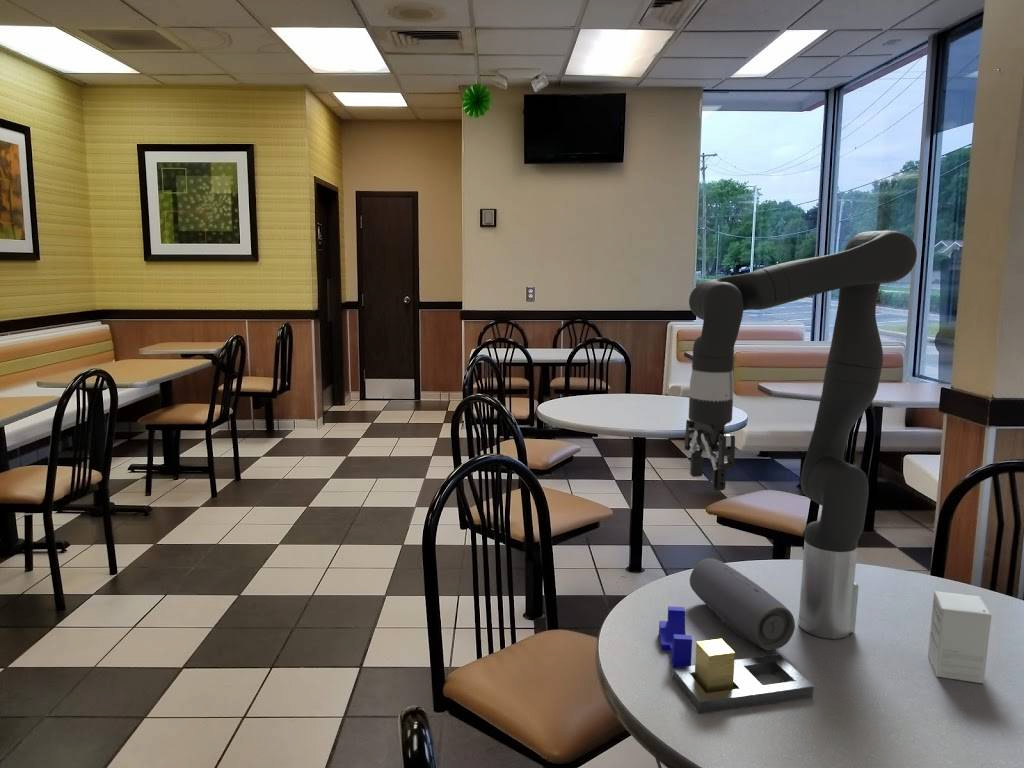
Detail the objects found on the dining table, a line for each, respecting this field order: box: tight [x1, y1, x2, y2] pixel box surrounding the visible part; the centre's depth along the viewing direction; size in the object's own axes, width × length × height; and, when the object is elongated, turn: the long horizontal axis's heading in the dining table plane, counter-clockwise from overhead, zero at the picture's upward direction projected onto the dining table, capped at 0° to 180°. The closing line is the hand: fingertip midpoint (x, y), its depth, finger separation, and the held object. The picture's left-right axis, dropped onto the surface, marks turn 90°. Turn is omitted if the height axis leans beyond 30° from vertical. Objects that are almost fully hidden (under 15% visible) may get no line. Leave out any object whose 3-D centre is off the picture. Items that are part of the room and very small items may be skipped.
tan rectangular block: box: [694, 638, 736, 693], centre depth 123 cm, size 4×4×8 cm
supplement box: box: [927, 590, 992, 684], centre depth 129 cm, size 7×7×13 cm
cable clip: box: [658, 605, 693, 669], centre depth 136 cm, size 12×4×6 cm, turn 174°
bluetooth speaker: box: [689, 557, 796, 651], centre depth 144 cm, size 23×9×10 cm, turn 17°
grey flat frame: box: [671, 654, 815, 715], centre depth 125 cm, size 20×10×2 cm, turn 103°
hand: (707, 482), depth 136 cm, fingers open, 8 cm apart
